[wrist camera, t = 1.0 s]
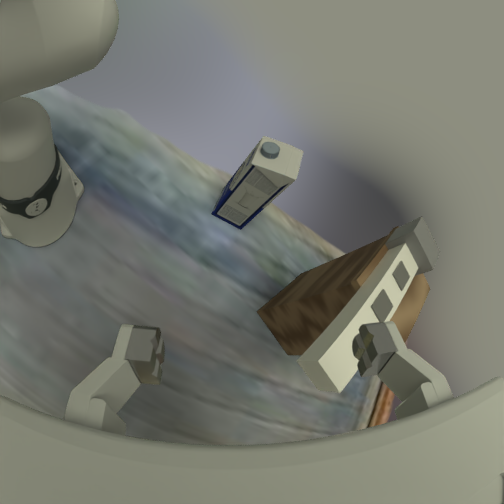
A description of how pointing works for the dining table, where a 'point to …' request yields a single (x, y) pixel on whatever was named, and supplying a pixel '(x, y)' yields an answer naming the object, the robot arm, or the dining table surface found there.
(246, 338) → the dining table surface
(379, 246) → the stand
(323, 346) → the power strip
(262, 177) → the milk carton
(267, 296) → the dining table surface
